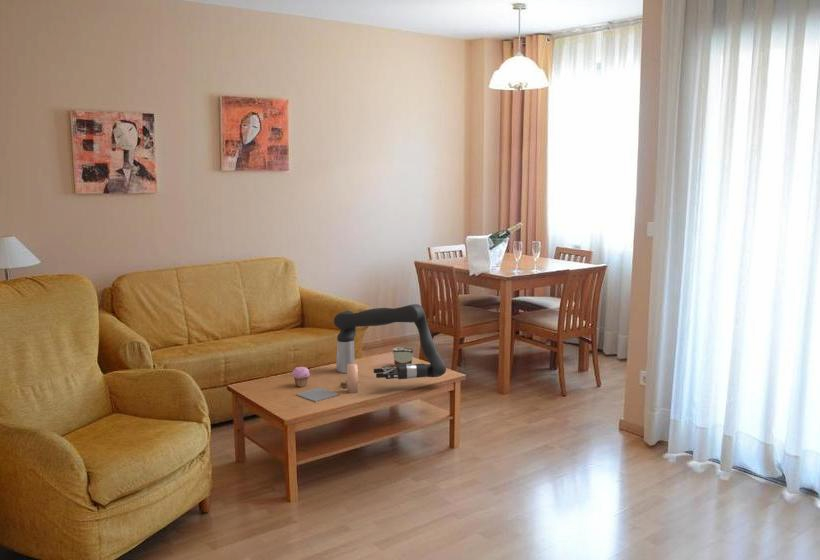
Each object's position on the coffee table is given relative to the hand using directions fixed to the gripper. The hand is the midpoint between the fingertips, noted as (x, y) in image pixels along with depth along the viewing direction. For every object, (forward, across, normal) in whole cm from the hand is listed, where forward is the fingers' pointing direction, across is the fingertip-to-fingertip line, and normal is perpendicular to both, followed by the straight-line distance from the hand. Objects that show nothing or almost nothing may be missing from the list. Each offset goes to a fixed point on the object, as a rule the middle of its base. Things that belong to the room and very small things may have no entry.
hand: (374, 373), depth 366 cm
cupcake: (+36, -15, +9) cm, 40 cm away
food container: (-23, -42, +9) cm, 49 cm away
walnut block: (+13, -9, +9) cm, 18 cm away
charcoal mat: (+29, +2, +9) cm, 30 cm away
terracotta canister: (+11, 0, +9) cm, 14 cm away
